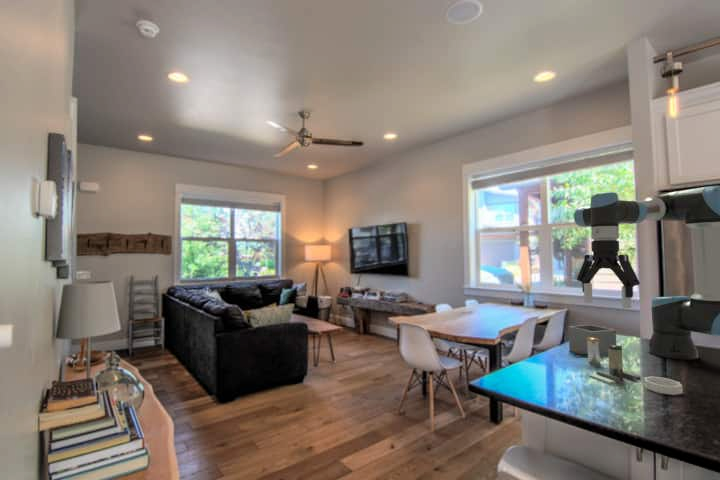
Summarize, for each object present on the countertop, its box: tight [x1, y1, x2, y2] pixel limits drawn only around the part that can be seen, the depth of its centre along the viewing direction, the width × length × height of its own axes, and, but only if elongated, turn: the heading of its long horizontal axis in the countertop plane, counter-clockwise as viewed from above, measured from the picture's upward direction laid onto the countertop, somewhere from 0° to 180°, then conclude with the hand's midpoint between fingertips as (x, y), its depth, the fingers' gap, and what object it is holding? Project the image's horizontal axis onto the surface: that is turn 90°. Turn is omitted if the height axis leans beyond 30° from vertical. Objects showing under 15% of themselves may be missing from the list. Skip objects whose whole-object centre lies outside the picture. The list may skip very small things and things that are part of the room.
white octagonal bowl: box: [643, 375, 684, 396], centre depth 105 cm, size 8×8×4 cm
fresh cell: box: [587, 337, 601, 365], centre depth 132 cm, size 4×4×10 cm
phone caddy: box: [568, 324, 617, 357], centre depth 149 cm, size 12×12×10 cm
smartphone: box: [574, 351, 588, 357], centre depth 149 cm, size 8×15×1 cm, turn 129°
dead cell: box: [607, 344, 624, 380], centre depth 115 cm, size 4×4×10 cm
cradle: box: [585, 370, 644, 387], centre depth 115 cm, size 14×10×3 cm
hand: (606, 305), depth 118 cm, fingers open, 13 cm apart
